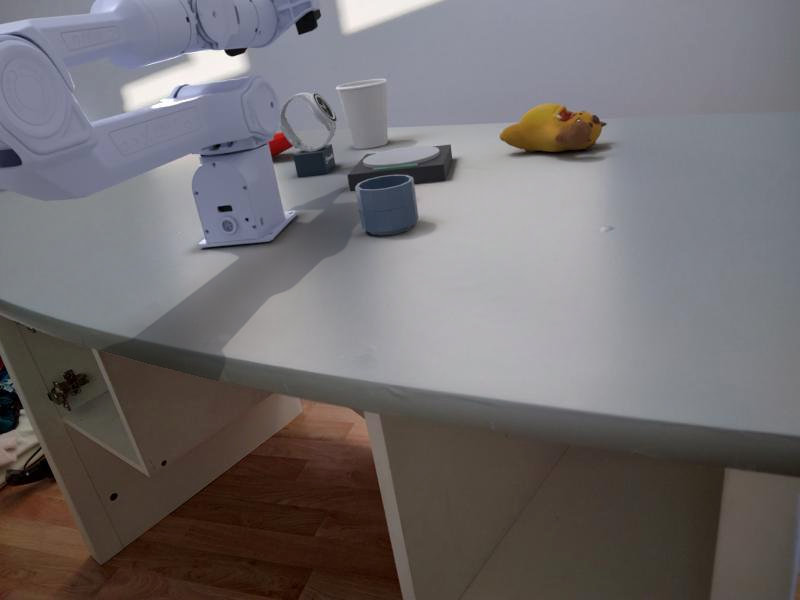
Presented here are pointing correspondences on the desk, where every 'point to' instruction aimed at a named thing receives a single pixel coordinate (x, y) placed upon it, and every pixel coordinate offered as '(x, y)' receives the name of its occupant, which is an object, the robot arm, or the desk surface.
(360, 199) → the blue cup
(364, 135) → the dixie cup
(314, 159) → the watch
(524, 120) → the toy
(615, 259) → the desk surface
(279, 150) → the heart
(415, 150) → the scale
